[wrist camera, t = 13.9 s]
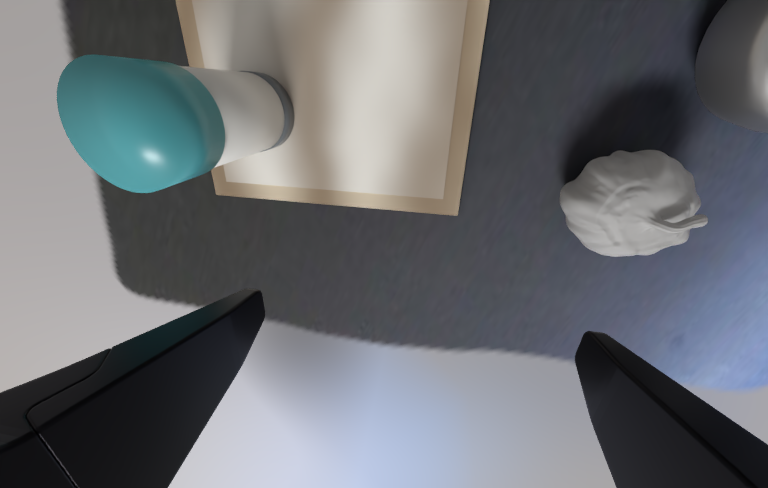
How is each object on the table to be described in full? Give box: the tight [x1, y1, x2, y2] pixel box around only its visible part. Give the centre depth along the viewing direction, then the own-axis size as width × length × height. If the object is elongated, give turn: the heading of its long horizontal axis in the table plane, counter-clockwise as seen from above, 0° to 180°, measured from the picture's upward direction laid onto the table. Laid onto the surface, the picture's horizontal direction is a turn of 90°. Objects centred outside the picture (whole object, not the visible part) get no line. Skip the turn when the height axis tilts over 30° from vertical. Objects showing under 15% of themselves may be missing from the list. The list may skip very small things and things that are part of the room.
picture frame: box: [176, 0, 490, 216], centre depth 16 cm, size 16×20×1 cm
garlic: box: [560, 150, 708, 257], centre depth 16 cm, size 6×5×5 cm
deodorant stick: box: [57, 55, 294, 193], centre depth 14 cm, size 4×4×9 cm
